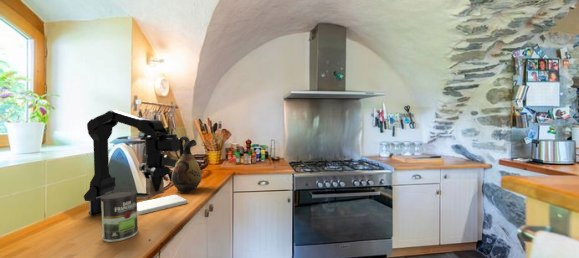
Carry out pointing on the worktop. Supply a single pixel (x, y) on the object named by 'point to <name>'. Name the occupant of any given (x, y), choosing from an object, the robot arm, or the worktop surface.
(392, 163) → the worktop surface
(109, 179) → the robot arm
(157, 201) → the chopping board
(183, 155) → the ceramic jug
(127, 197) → the coffee can
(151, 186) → the walnut block
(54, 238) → the worktop surface
